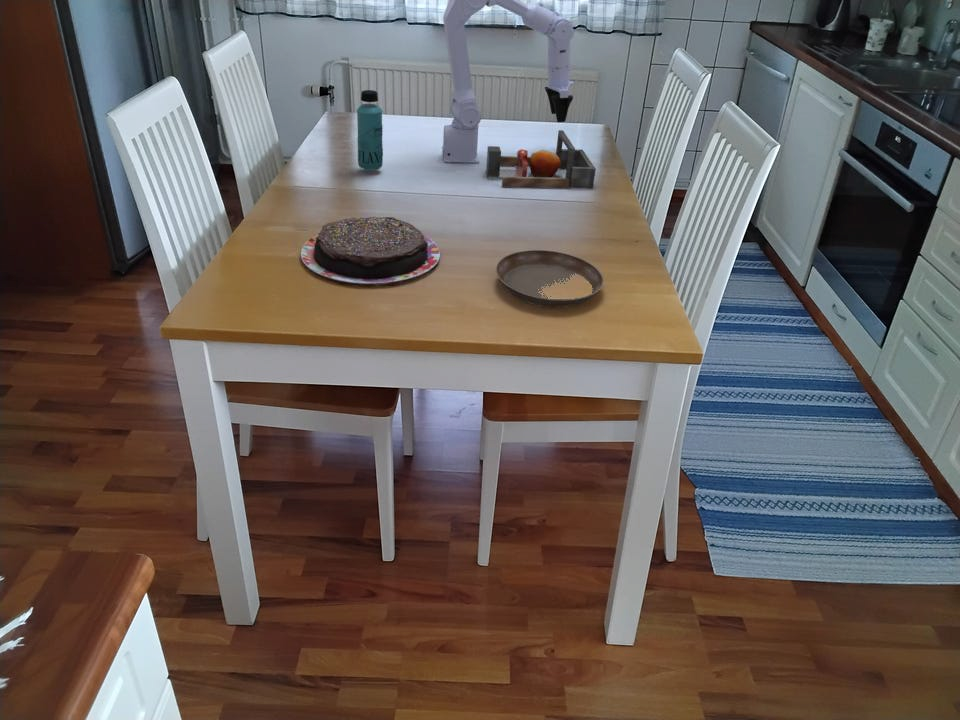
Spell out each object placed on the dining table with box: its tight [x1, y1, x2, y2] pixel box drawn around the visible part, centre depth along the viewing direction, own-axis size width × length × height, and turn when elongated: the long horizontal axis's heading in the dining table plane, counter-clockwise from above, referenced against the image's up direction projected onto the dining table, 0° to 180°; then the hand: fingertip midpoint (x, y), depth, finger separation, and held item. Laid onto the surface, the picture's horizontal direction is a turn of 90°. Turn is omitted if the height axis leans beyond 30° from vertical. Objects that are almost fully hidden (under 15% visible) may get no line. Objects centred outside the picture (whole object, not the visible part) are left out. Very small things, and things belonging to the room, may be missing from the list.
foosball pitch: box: [500, 129, 597, 189], centre depth 195 cm, size 24×17×10 cm
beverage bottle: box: [356, 89, 384, 171], centre depth 187 cm, size 6×7×20 cm
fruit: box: [529, 149, 561, 178], centre depth 196 cm, size 8×8×8 cm
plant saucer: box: [495, 249, 605, 308], centre depth 144 cm, size 21×21×3 cm
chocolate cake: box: [300, 216, 441, 288], centre depth 150 cm, size 28×28×7 cm
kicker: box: [485, 145, 529, 180], centre depth 194 cm, size 10×10×7 cm
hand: (558, 117), depth 207 cm, fingers open, 7 cm apart
